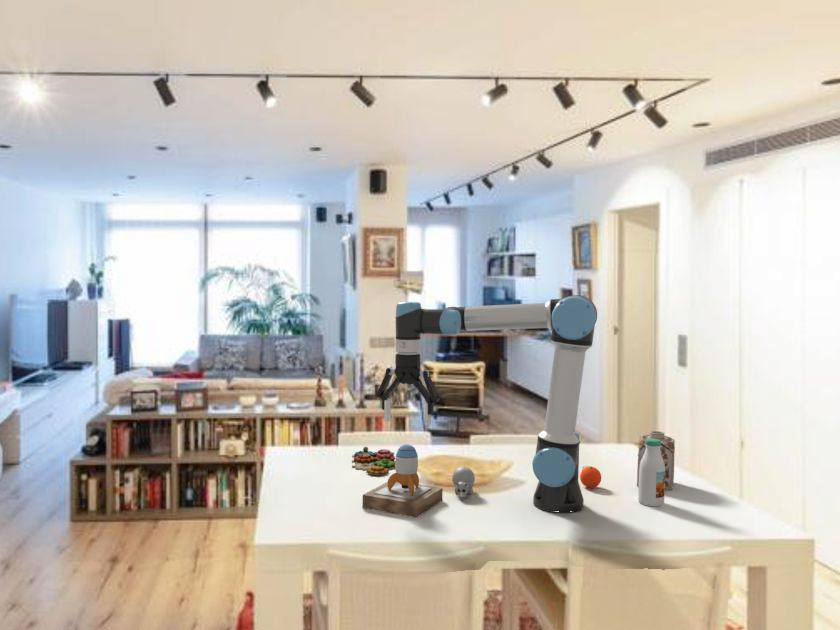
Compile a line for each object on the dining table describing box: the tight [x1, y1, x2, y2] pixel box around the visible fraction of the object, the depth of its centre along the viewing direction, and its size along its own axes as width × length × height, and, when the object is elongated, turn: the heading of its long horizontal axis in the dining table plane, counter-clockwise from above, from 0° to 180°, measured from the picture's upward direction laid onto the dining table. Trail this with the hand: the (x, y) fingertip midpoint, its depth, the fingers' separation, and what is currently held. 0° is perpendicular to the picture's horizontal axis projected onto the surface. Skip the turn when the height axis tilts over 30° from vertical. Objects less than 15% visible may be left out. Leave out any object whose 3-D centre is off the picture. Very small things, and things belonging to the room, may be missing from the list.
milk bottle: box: [637, 438, 666, 507], centre depth 231 cm, size 8×8×20 cm
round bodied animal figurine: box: [451, 466, 476, 501], centre depth 236 cm, size 7×12×8 cm, turn 170°
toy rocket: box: [386, 443, 420, 496], centre depth 225 cm, size 10×11×15 cm
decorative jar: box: [636, 430, 676, 491], centre depth 251 cm, size 12×12×18 cm
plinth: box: [361, 481, 443, 518], centre depth 226 cm, size 18×18×4 cm
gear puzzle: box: [351, 446, 396, 476], centre depth 271 cm, size 31×16×4 cm, turn 5°
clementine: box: [579, 465, 602, 489], centre depth 247 cm, size 8×7×7 cm
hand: (407, 423), depth 226 cm, fingers open, 13 cm apart
